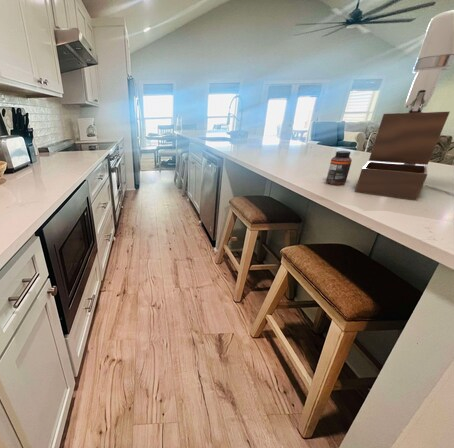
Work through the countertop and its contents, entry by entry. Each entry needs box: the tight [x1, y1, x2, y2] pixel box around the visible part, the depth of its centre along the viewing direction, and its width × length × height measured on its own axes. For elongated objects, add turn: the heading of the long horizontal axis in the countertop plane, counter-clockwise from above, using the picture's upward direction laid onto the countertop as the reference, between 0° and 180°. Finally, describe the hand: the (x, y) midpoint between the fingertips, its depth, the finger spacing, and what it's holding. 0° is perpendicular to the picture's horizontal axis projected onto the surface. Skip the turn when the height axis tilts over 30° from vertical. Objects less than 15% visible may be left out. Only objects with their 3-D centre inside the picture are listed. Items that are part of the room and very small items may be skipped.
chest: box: [354, 161, 428, 201], centre depth 77 cm, size 14×14×8 cm
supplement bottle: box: [325, 150, 352, 186], centre depth 86 cm, size 6×6×11 cm
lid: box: [368, 111, 451, 166], centre depth 76 cm, size 15×14×1 cm
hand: (407, 131), depth 78 cm, fingers closed
